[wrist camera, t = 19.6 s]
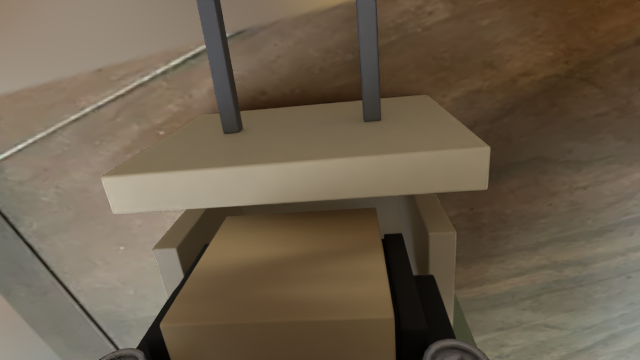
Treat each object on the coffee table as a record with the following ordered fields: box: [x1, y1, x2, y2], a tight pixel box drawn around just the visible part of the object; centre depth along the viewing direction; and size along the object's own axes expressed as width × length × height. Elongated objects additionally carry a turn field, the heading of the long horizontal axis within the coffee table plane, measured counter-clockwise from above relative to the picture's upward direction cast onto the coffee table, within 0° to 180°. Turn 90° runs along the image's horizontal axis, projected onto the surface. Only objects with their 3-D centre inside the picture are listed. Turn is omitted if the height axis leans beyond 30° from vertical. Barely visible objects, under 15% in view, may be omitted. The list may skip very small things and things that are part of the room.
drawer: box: [101, 0, 491, 328], centre depth 15 cm, size 19×10×8 cm, turn 6°
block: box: [160, 207, 396, 360], centre depth 10 cm, size 4×4×4 cm
